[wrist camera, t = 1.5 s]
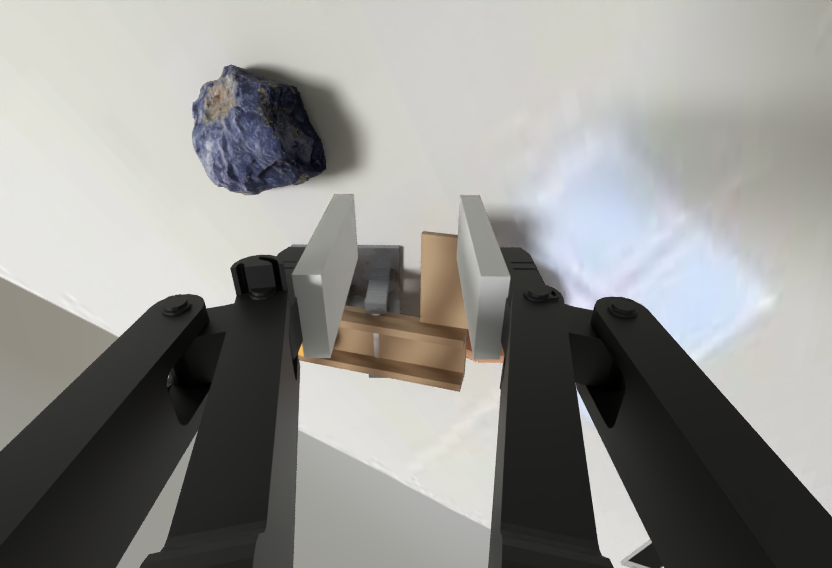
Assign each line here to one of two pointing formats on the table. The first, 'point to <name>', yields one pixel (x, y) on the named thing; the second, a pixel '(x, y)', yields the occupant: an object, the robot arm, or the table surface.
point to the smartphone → (643, 557)
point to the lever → (411, 328)
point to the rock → (254, 133)
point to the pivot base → (375, 281)
